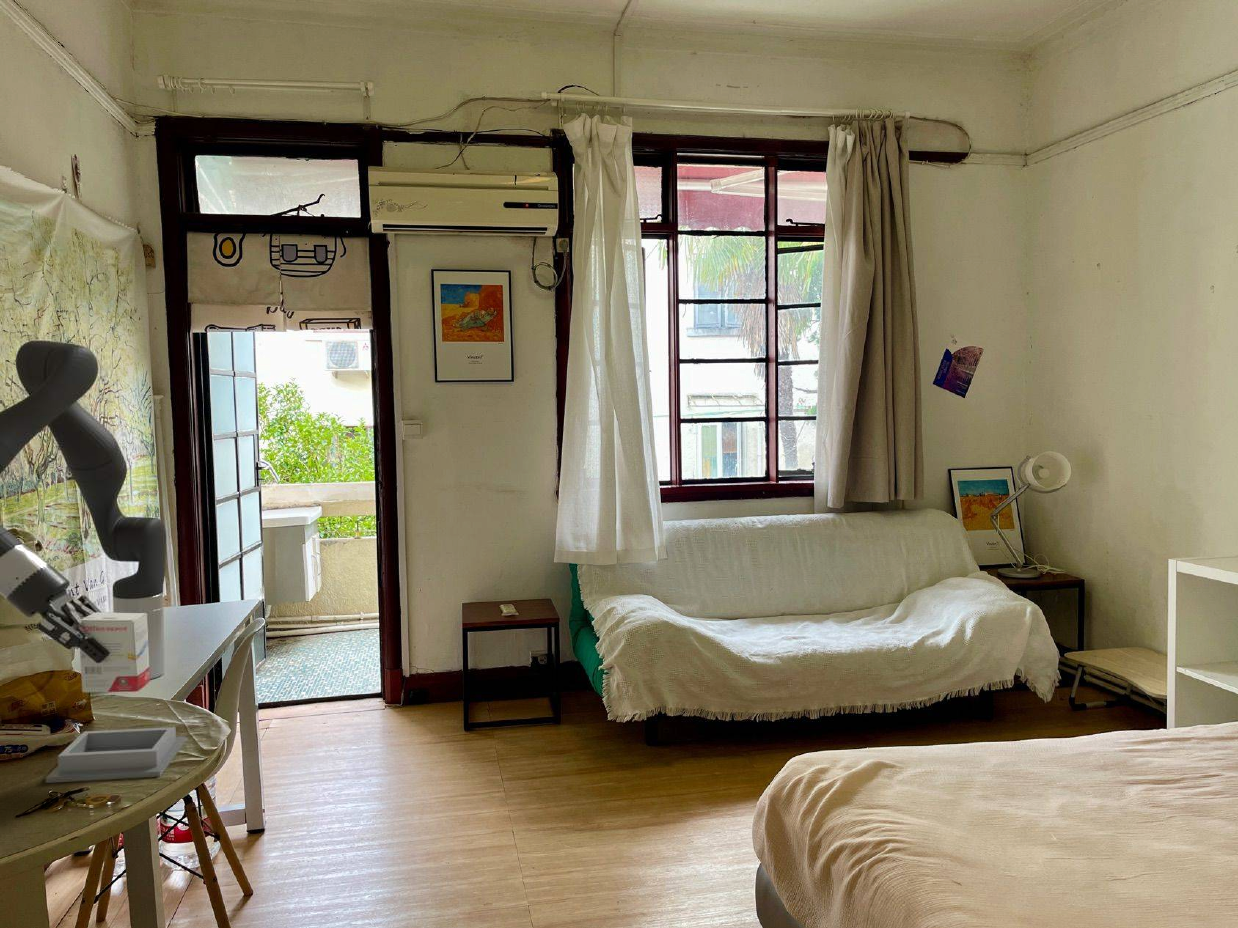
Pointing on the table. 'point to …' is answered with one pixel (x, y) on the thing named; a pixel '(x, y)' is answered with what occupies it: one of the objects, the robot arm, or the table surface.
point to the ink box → (117, 653)
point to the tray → (117, 755)
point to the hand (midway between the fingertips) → (111, 652)
